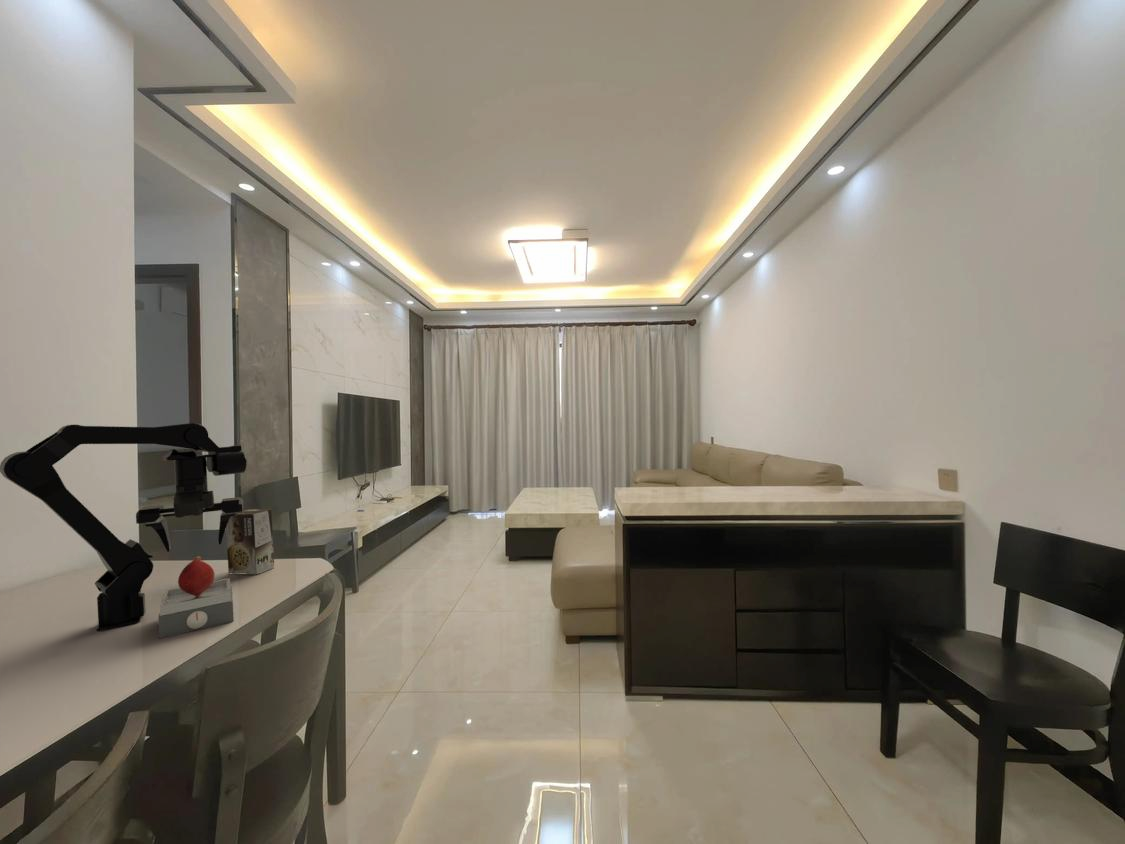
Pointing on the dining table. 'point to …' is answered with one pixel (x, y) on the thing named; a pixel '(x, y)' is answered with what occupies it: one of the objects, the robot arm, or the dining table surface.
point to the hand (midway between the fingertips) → (195, 547)
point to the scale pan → (195, 598)
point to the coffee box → (250, 541)
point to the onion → (196, 577)
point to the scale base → (195, 619)
